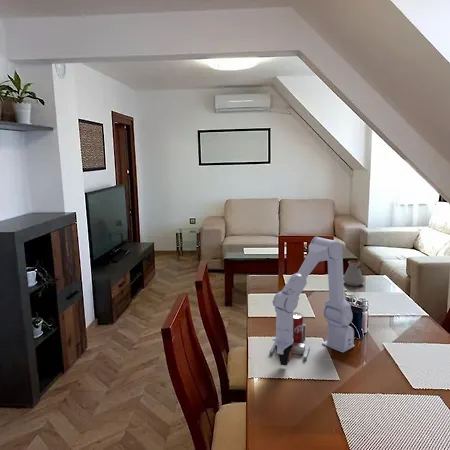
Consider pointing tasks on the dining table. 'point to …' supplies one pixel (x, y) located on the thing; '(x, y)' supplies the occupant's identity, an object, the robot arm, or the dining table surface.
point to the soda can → (297, 327)
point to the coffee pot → (353, 274)
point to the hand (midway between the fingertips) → (283, 364)
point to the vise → (303, 339)
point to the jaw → (297, 349)
